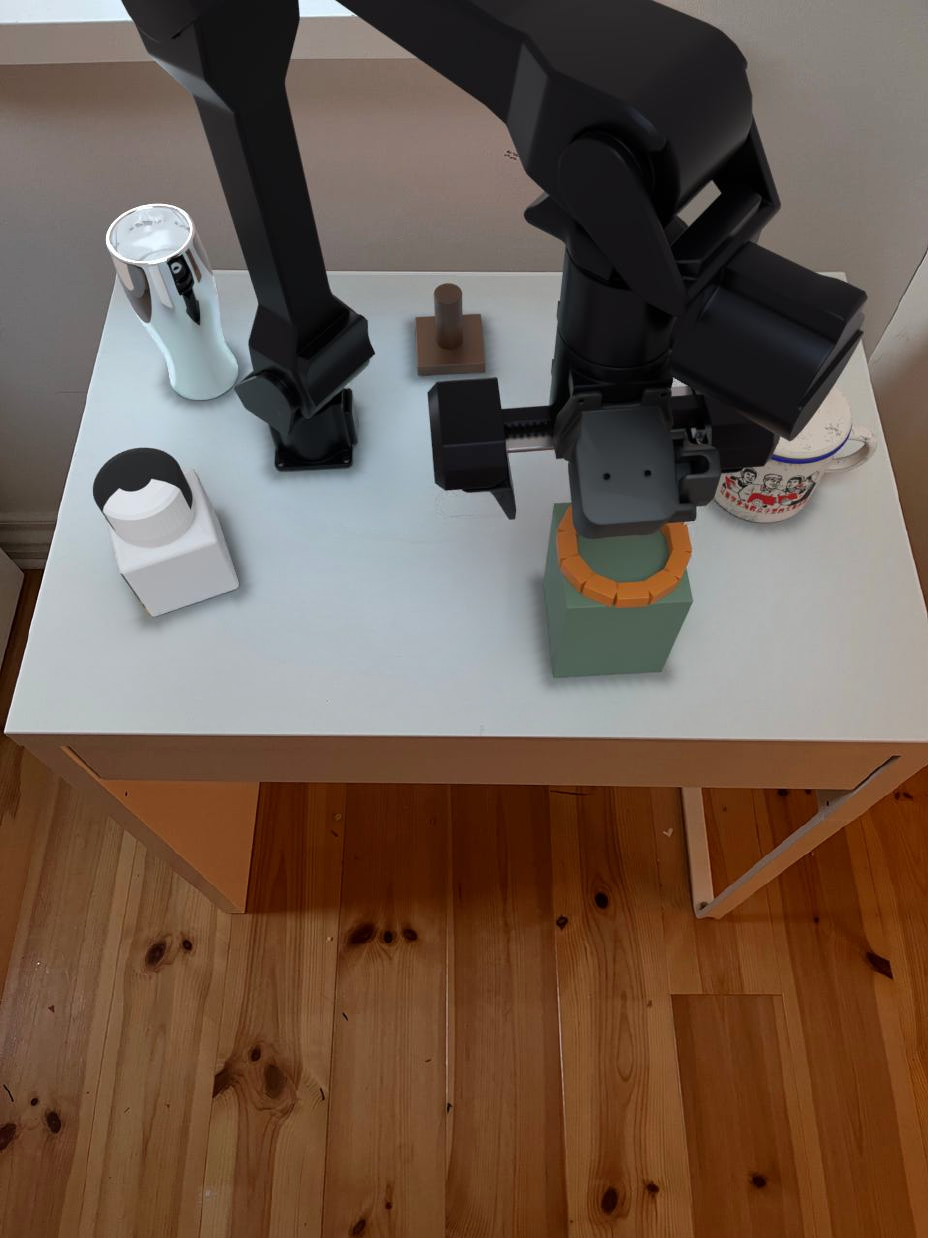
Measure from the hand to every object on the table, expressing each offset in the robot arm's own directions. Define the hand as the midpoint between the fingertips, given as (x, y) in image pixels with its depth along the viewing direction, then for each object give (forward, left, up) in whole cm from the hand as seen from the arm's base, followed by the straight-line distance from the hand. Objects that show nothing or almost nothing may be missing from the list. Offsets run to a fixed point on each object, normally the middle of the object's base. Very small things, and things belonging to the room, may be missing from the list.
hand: (583, 508), depth 57 cm
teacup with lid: (+18, +10, -13) cm, 25 cm away
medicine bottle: (-30, +5, -13) cm, 33 cm away
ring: (+2, -2, -2) cm, 4 cm away
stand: (-8, +27, -13) cm, 31 cm away
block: (+2, -2, -13) cm, 14 cm away
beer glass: (-30, +25, -13) cm, 41 cm away
